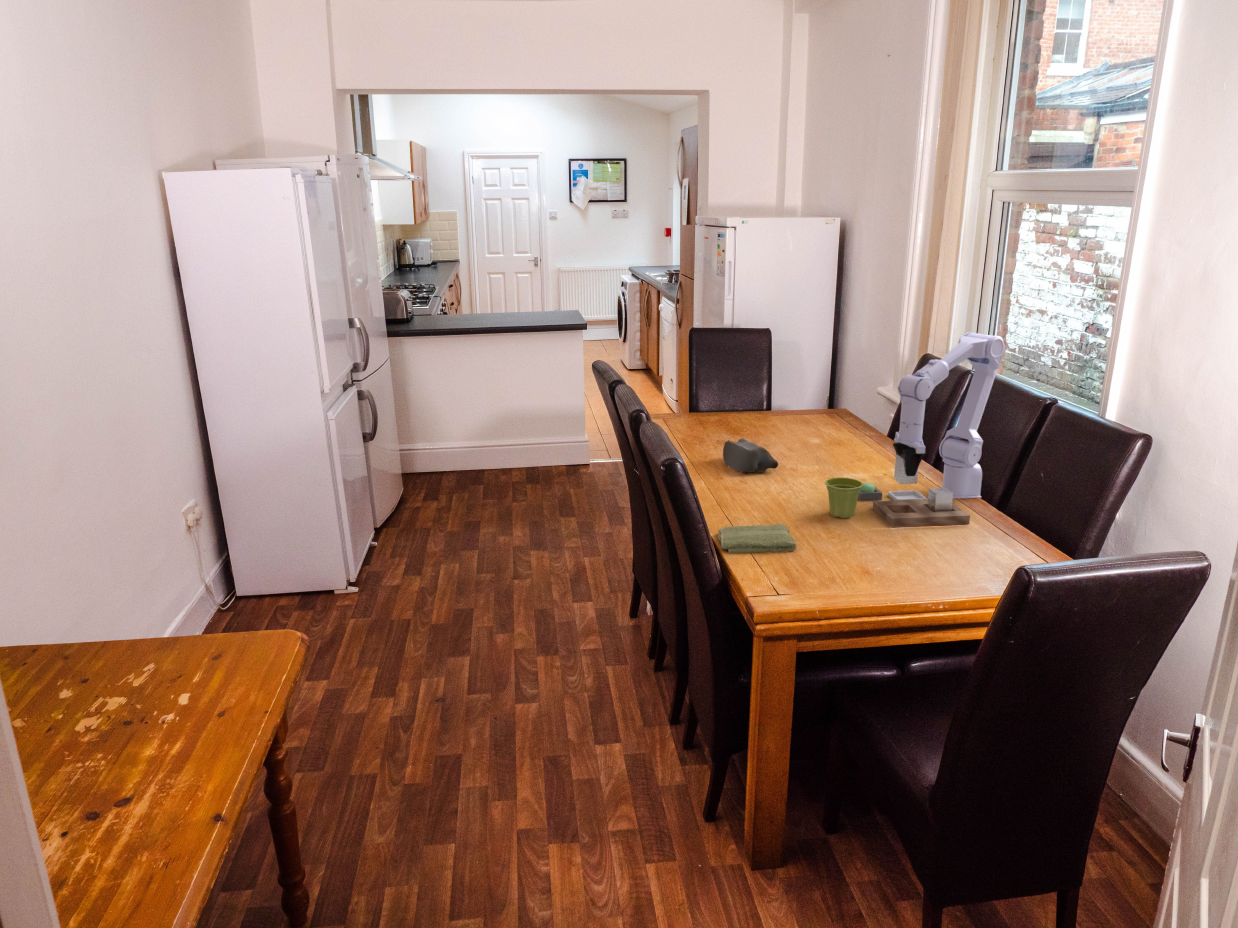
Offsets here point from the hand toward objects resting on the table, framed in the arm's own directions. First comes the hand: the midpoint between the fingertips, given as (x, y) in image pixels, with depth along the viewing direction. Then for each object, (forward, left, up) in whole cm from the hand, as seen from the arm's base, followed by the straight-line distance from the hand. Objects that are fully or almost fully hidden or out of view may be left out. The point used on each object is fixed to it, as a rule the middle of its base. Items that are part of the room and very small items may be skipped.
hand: (907, 472), depth 227 cm
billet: (0, 0, -2) cm, 2 cm away
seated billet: (-6, +8, -10) cm, 14 cm away
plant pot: (+18, +4, -10) cm, 21 cm away
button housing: (+7, -8, -10) cm, 14 cm away
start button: (+7, -8, -9) cm, 14 cm away
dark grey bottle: (+32, -41, -10) cm, 53 cm away
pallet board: (-1, +8, -10) cm, 12 cm away
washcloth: (+45, +20, -10) cm, 50 cm away
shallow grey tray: (-3, -5, -10) cm, 11 cm away
